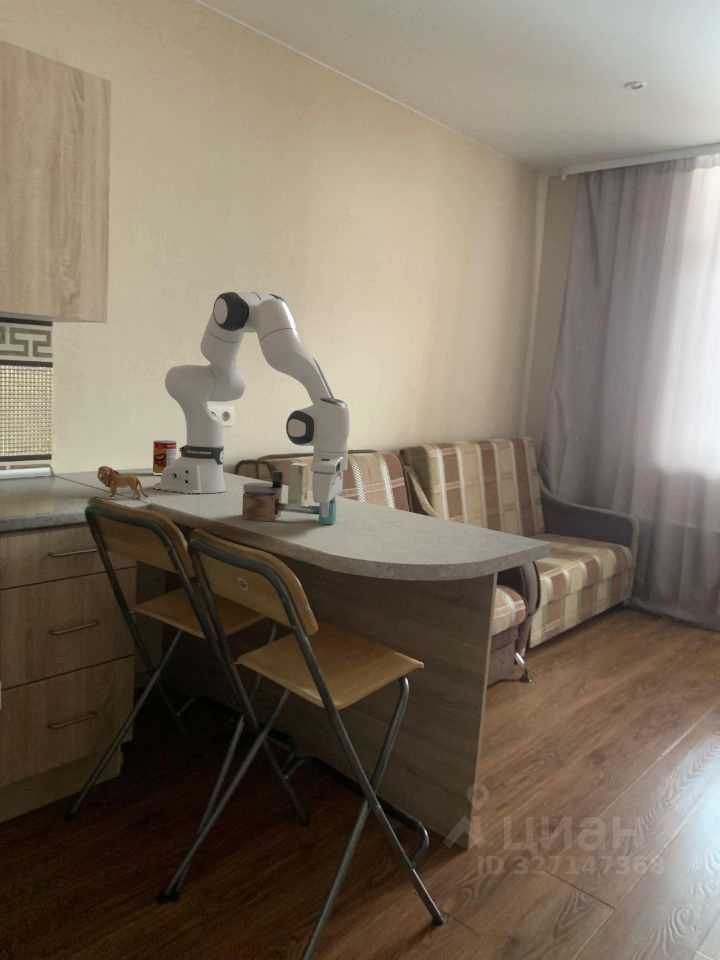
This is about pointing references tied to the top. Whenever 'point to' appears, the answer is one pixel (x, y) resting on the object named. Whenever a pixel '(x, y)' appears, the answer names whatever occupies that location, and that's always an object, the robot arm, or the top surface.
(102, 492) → the top surface
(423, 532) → the top surface
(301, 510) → the teal and grey bar
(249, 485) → the handwheel
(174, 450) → the canned food
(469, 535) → the top surface
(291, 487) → the skincare box
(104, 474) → the lion figurine
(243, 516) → the block
